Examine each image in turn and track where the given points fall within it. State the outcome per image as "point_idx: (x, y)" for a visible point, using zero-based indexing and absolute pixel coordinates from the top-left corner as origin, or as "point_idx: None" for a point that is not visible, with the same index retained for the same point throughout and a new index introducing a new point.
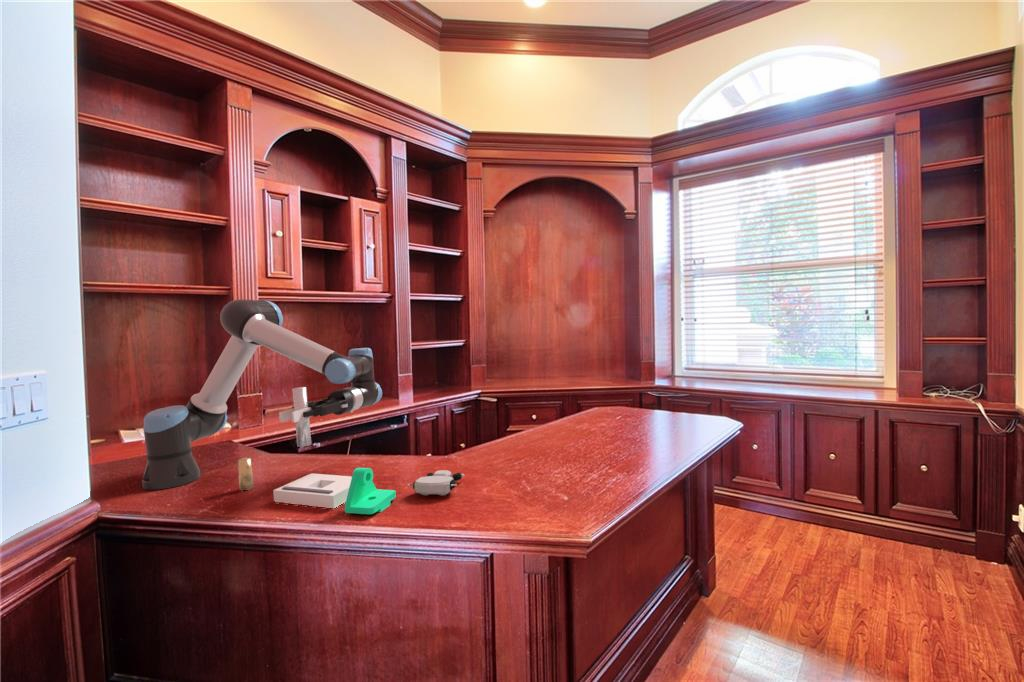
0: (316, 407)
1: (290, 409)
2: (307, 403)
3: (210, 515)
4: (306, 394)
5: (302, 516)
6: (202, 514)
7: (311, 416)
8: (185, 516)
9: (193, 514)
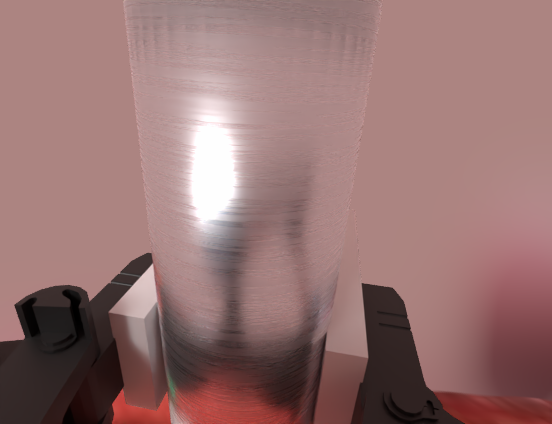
0: (25, 337)
1: (340, 264)
2: (153, 262)
3: (449, 410)
4: (138, 119)
5: (168, 406)
6: (482, 416)
7: (128, 390)
8: (512, 403)
9: (509, 416)
